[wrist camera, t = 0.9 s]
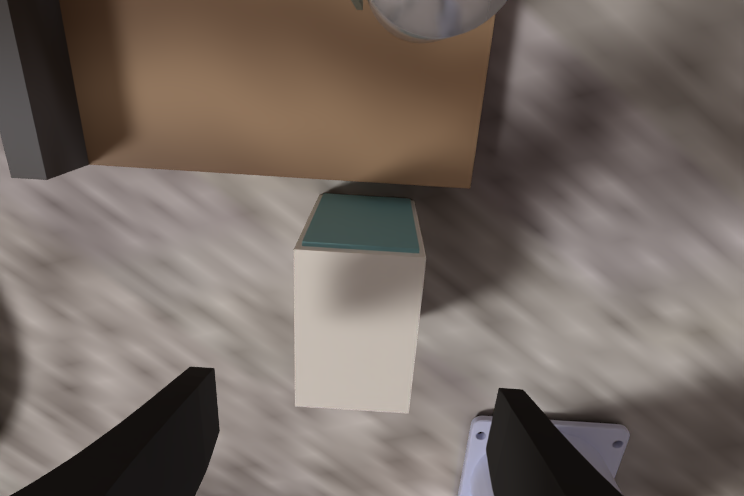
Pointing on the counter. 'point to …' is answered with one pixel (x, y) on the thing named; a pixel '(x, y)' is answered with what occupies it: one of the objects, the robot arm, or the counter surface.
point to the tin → (430, 17)
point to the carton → (357, 303)
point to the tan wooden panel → (236, 90)
